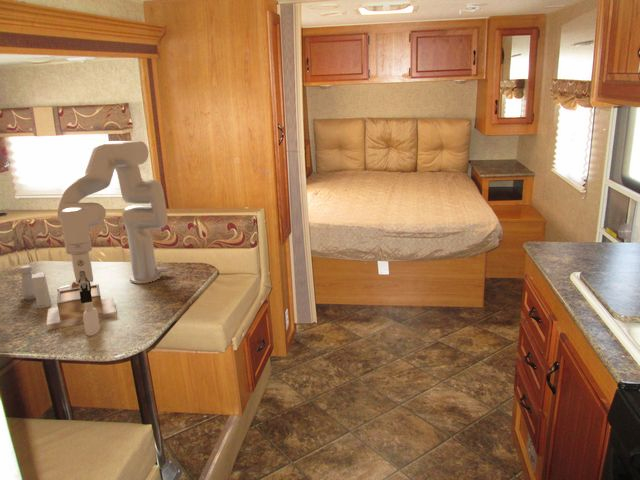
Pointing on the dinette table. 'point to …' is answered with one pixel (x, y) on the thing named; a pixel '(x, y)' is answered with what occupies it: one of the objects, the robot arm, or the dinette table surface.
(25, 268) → the salt shaker
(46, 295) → the skincare box
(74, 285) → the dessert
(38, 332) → the dinette table surface
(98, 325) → the eye dropper bottle
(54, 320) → the display plinth
